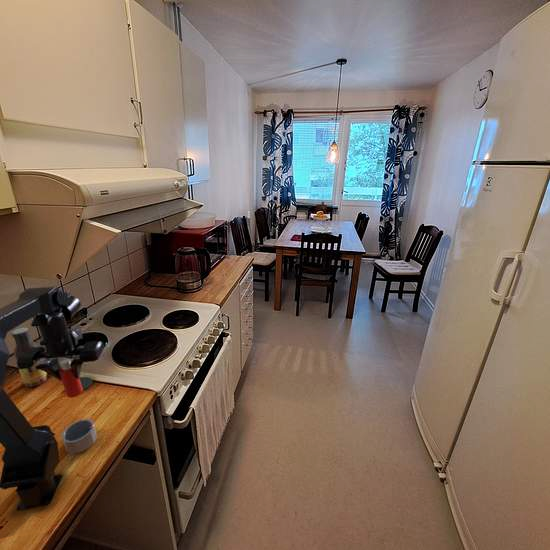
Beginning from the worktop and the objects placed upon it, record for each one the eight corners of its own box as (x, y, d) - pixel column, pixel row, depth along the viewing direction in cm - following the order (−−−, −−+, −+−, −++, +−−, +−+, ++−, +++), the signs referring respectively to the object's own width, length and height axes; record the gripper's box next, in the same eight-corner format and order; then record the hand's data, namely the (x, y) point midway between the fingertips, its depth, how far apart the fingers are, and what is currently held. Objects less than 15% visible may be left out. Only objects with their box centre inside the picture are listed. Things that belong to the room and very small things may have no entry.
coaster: (87, 391, 93) (87, 390, 93) (63, 394, 92) (63, 393, 91) (95, 376, 99) (95, 375, 99) (72, 379, 98) (72, 378, 98)
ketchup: (79, 396, 81) (69, 365, 76) (64, 398, 80) (53, 367, 76) (85, 386, 84) (75, 356, 80) (70, 388, 83) (60, 358, 79)
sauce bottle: (35, 389, 93) (15, 338, 86) (19, 386, 95) (-1, 336, 87) (53, 375, 99) (36, 327, 92) (38, 373, 101) (20, 324, 93)
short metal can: (91, 452, 74) (87, 439, 72) (61, 457, 73) (56, 444, 71) (101, 428, 80) (97, 417, 79) (73, 433, 79) (68, 421, 77)
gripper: (104, 313, 83) (115, 356, 89) (31, 318, 79) (47, 363, 85) (89, 334, 73) (103, 382, 79) (5, 342, 69) (26, 391, 75)
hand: (70, 378), depth 80 cm, fingers closed on ketchup, 4 cm apart
